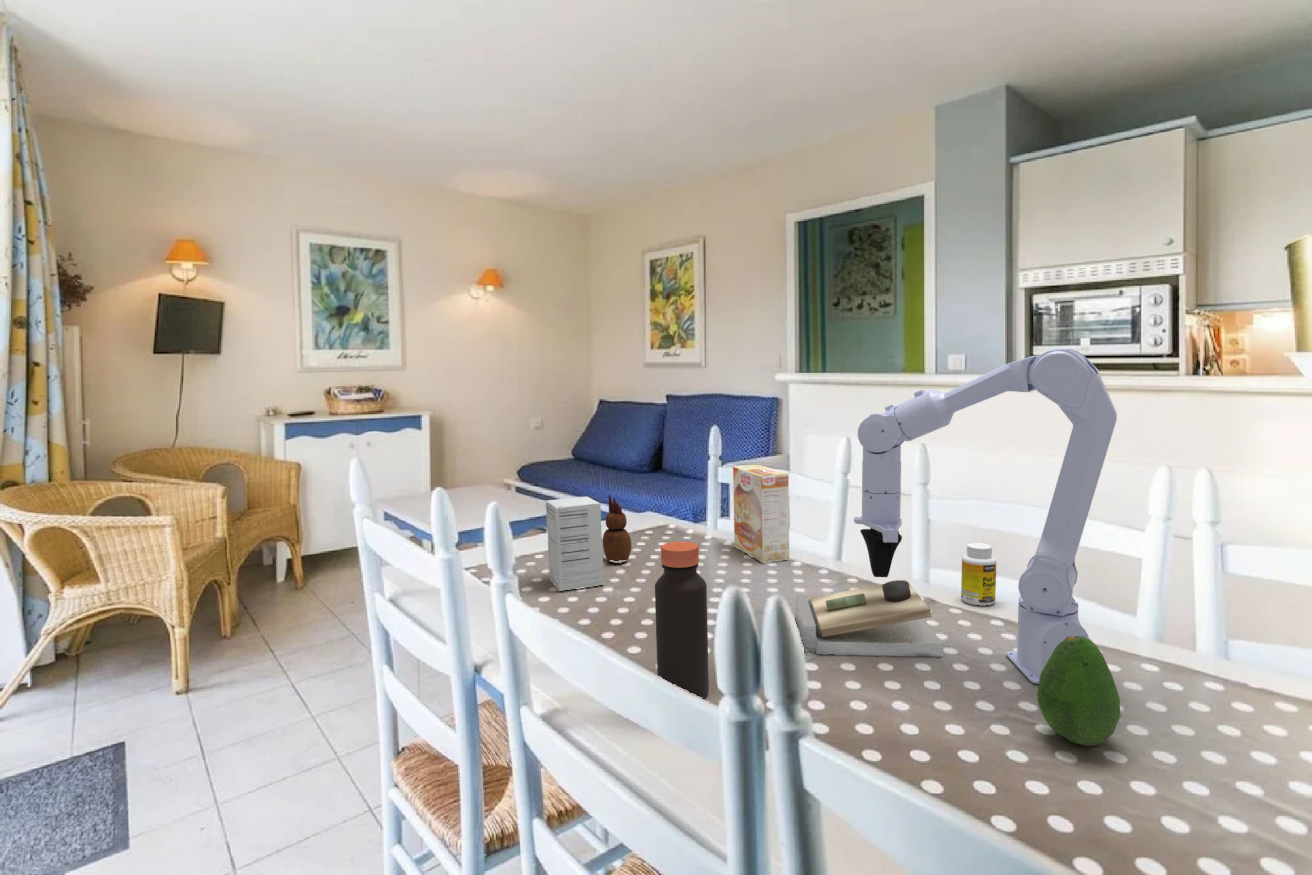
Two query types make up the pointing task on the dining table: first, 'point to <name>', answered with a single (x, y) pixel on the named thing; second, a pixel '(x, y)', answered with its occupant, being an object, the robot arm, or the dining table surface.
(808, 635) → the level base
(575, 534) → the supplement box
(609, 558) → the wooden figurine
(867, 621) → the plate
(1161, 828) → the dining table surface
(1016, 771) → the dining table surface
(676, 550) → the vinegar
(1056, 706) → the avocado
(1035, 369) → the robot arm
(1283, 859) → the dining table surface
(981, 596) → the supplement bottle
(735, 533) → the coffeecake box
